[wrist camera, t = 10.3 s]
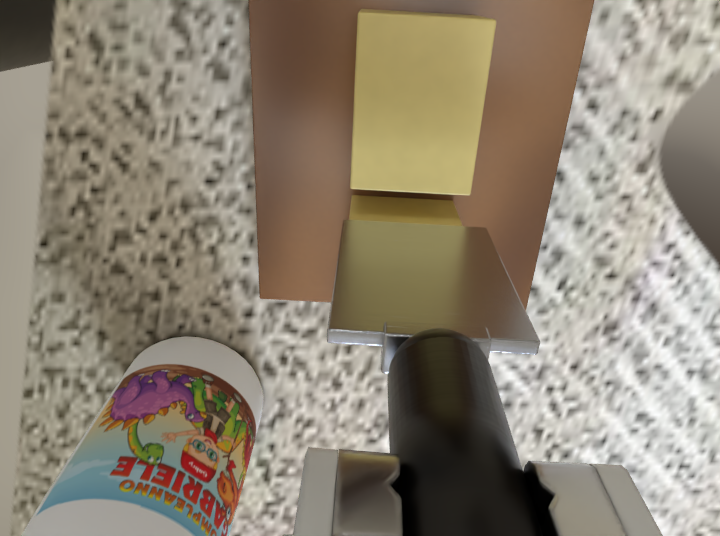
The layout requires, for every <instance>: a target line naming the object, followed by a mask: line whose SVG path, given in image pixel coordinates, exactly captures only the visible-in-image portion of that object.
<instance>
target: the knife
mask: <svg viewBox="0 0 720 536" xmlns="http://www.w3.org/2000/svg"><path fill="white" fill-rule="evenodd" d="M327 342H328V343H340V344H358V345H376V346H382V351H381V371H382V373H388V410H389V441H390V453H391V454H398V455H399V466H400V477H399V487H398V495H399V496H400V497H401V504H402V529H403V536H543V535H542V531H541V528H540V525H539V522H538V518H537V515H536V512H535V509H534V506H533V502H532V499H531V496H530V493H529V489H528V486H527V483H526V480H525V477H524V473H523V470H522V467H521V464H520V460H519V457H518V454H517V451H516V448H515V444H514V441H513V438H512V435H511V431H510V428H509V425H508V422H507V418H506V415H505V412H504V409H503V406H502V402H501V399H500V396H499V393H498V389H497V386H496V383H495V380H494V377H493V373H492V370H491V367H490V364H489V362H488V358H489V353H490V352H500V353H517V354H535V355H536V354H537V353H538V349H539V345H540V340H539V338H538V336H537V334H536V332H535V330H534V328H533V325H532V323H531V321H530V319H529V317H528V315H527V313H526V311H525V309H524V307H523V304H522V302H521V300H520V298H519V296H518V294H517V292H516V290H515V288H514V286H513V283H512V281H511V279H510V277H509V275H508V273H507V271H506V269H505V267H504V265H503V262H502V260H501V258H500V256H499V254H498V252H497V250H496V248H495V246H494V244H493V241H492V239H491V237H490V235H489V233H488V231H487V229H486V228H485V227H469V226H451V225H433V224H416V223H398V222H380V221H363V220H345V219H344V220H343V224H342V231H341V238H340V245H339V252H338V259H337V266H336V273H335V280H334V287H333V294H332V301H331V308H330V315H329V322H328V329H327Z"/></svg>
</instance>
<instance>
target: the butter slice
mask: <svg viewBox="0 0 720 536" xmlns="http://www.w3.org/2000/svg"><path fill="white" fill-rule="evenodd" d="M349 220H363V221H380V222H398V223H416V224H433V225H451V226H462V223H461V220H460V218H459V215H458V213H457V210H456V207H455V205H454V202H453V201H450V200H432V199H414V198H396V197H378V196H360V195H352V197H351V206H350V215H349Z"/></svg>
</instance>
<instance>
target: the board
mask: <svg viewBox="0 0 720 536" xmlns="http://www.w3.org/2000/svg"><path fill="white" fill-rule="evenodd" d="M248 3H249V29H250V55H251V82H252V108H253V134H254V160H255V186H256V213H257V239H258V265H259V291H260V298H261V299H278V300H296V301H314V302H331V301H332V294H333V287H334V280H335V273H336V266H337V259H338V252H339V245H340V238H341V231H342V224H343V220H344V219H345V220H349V215H350V206H351V197H352V195H360V196H378V197H396V198H414V199H432V200H450V201H453V202H454V205H455V207H456V210H457V213H458V215H459V218H460V220H461V223H462V226H469V227H485V228H486V229H487V231H488V233H489V235H490V237H491V239H492V241H493V244H494V246H495V248H496V250H497V252H498V254H499V256H500V258H501V260H502V262H503V265H504V267H505V269H506V271H507V273H508V275H509V277H510V279H511V281H512V283H513V286H514V288H515V290H516V292H517V294H518V296H519V298H520V300H521V302H522V304H523V307H524V309H525V311H526V307H527V303H528V298H529V294H530V289H531V285H532V280H533V276H534V271H535V267H536V262H537V258H538V253H539V249H540V244H541V239H542V235H543V230H544V226H545V221H546V217H547V212H548V208H549V203H550V199H551V194H552V190H553V185H554V181H555V176H556V172H557V167H558V162H559V158H560V153H561V149H562V144H563V140H564V135H565V131H566V126H567V122H568V117H569V113H570V108H571V104H572V99H573V95H574V90H575V85H576V81H577V76H578V72H579V67H580V63H581V58H582V54H583V49H584V45H585V40H586V36H587V31H588V27H589V22H590V18H591V13H592V8H593V4H594V0H248ZM361 9H373V10H391V11H408V12H426V13H444V14H461V15H477V16H482V17H487V18H491V19H495V20H496V28H495V35H494V41H493V48H492V55H491V61H490V68H489V75H488V81H487V88H486V95H485V101H484V108H483V115H482V121H481V128H480V135H479V141H478V148H477V155H476V161H475V168H474V175H473V181H472V188H471V194H470V195H450V194H432V193H414V192H396V191H378V190H360V189H351V188H350V178H351V155H352V133H353V110H354V87H355V65H356V42H357V20H358V13H359V11H360V10H361Z"/></svg>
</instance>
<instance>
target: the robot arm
mask: <svg viewBox="0 0 720 536" xmlns="http://www.w3.org/2000/svg"><path fill="white" fill-rule="evenodd" d="M523 473H524V477H525V480H526V483H527V486H528V489H529V493H530V496H531V499H532V502H533V506H534V509H535V512H536V515H537V518H538V522H539V525H540V528H541V531H542V535H543V536H663V535H662V534H661V532H660V530H659V528H658V526H657V524H656V523H655V521H654V519H653V517H652V515H651V513H650V511H649V510H648V508H647V506H646V504H645V502H644V500H643V498H642V497H641V495H640V493H639V491H638V489H637V487H636V486H635V484H634V482H633V480H632V478H631V476H630V474H629V473H628V471H627V470H626V469H625V468H624V467H623V466H622V465H606V464H586V463H564V462H542V461H528V463H527V464H526V465H525V467H524V471H523ZM399 477H400V466H399V455H398V454H391V453H379V452H366V451H354V450H342V449H339V455H338V450H334V449H322V448H310V447H308V449H307V452H306V455H305V461H304V467H303V474H302V480H301V487H300V494H299V500H298V507H297V513H296V520H295V526H294V533H293V535H283V536H403V529H402V504H401V497H400V496H399V495H398V487H399Z"/></svg>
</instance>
